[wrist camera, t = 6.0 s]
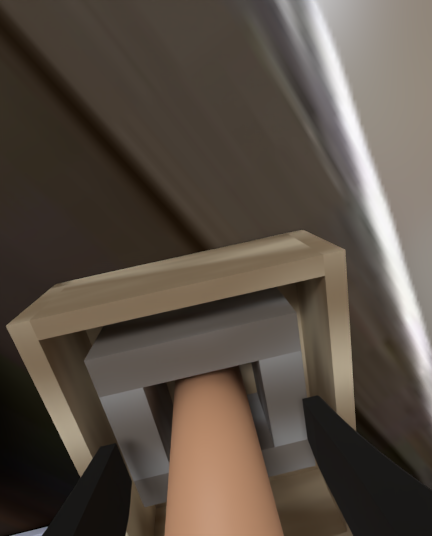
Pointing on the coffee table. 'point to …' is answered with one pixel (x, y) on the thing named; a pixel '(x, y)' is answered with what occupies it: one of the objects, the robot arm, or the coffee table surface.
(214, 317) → the box
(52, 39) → the coffee table surface
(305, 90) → the coffee table surface
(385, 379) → the coffee table surface
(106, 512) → the robot arm
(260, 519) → the peg
